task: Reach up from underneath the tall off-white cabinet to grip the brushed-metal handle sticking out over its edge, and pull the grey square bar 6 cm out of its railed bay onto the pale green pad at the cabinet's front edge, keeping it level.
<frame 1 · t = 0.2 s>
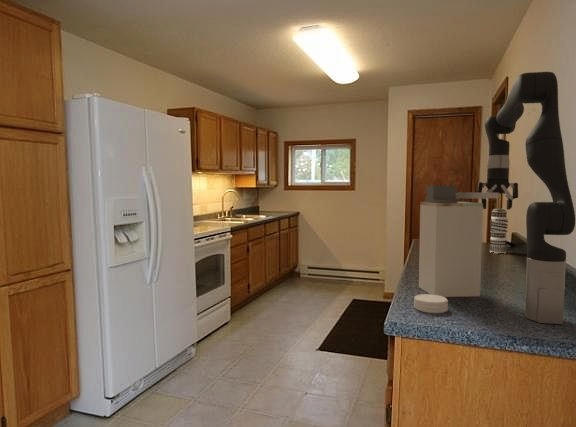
hand: (496, 209, 154), 29 cm above the counter, tool pointing down, fingers open, 8 cm apart
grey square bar: (440, 202, 140), point 32 cm above the counter, touching cabinet
coaster: (430, 309, 122), on the counter
cabinet: (447, 291, 142), on the counter
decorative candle: (497, 252, 226), on the counter
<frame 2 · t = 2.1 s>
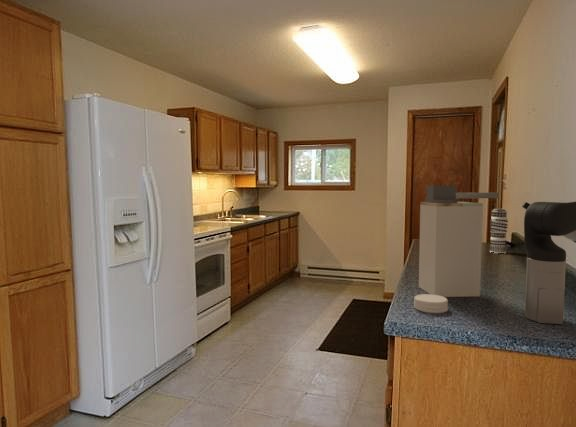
hand: (531, 204, 142), 31 cm above the counter, tool pointing upward, fingers open, 8 cm apart
nothing on the counter moved.
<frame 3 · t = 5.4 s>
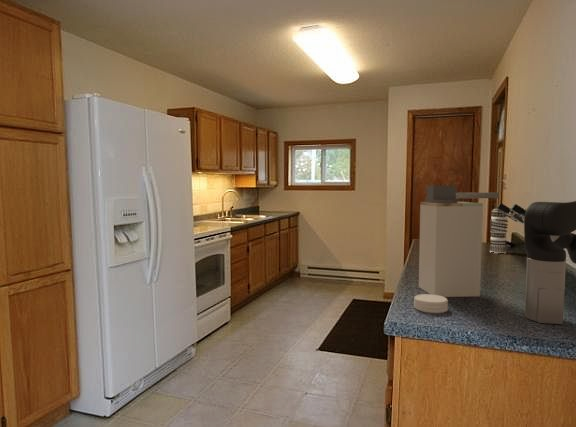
hand: (505, 205, 141), 31 cm above the counter, tool pointing upward, fingers open, 8 cm apart
nothing on the counter moved.
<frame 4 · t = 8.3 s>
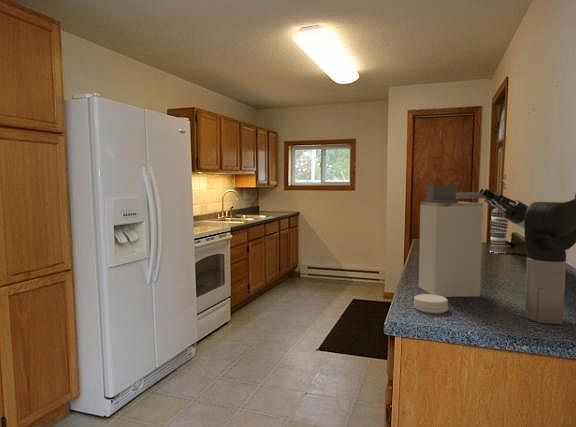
hand: (481, 191, 140), 36 cm above the counter, tool pointing upward, fingers closed on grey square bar
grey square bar: (440, 202, 140), point 32 cm above the counter, touching cabinet, gripper
everything else where it was.
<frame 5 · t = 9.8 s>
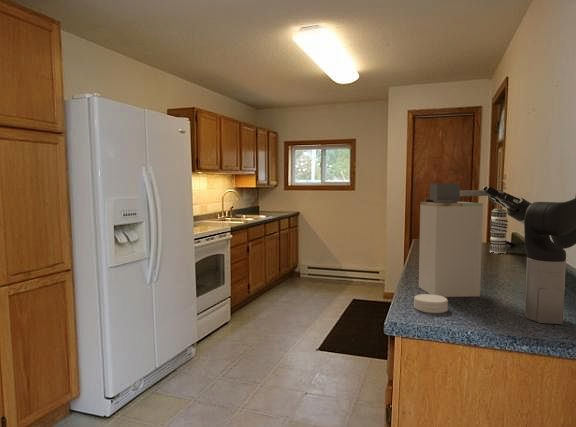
hand: (485, 188, 140), 37 cm above the counter, tool pointing upward, fingers closed on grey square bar
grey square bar: (444, 200, 140), point 33 cm above the counter, touching gripper
everything else where it was.
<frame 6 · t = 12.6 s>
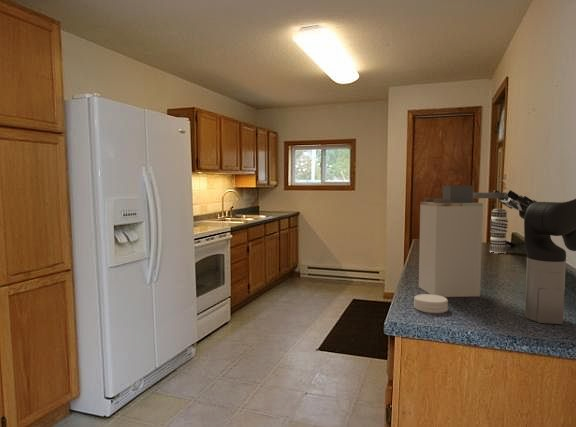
hand: (500, 192, 141), 36 cm above the counter, tool pointing upward, fingers open, 8 cm apart
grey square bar: (457, 202, 140), point 32 cm above the counter, touching cabinet
everything else where it was.
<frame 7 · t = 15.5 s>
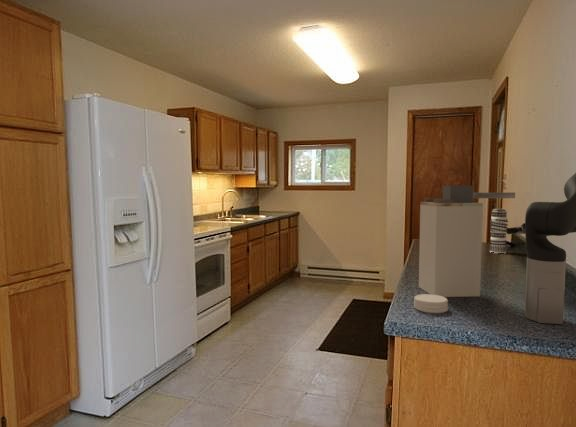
hand: (514, 228, 143), 22 cm above the counter, tool horizontal, fingers open, 8 cm apart
nothing on the counter moved.
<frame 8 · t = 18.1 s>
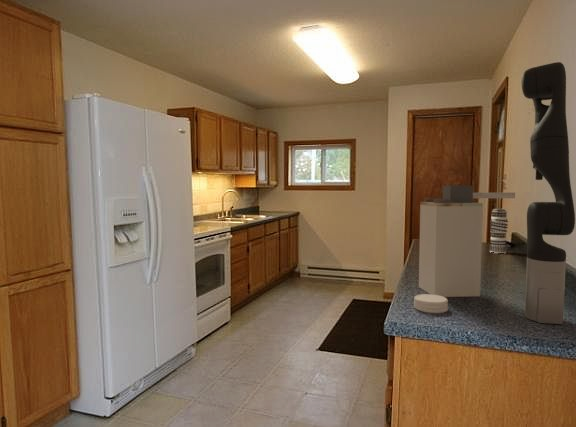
hand: (543, 179, 146), 40 cm above the counter, tool pointing down, fingers open, 8 cm apart
nothing on the counter moved.
at the end: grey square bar 0.3 cm from the target spot, point 32.0 cm above the counter; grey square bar tilted 0°; the gripper is holding nothing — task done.
